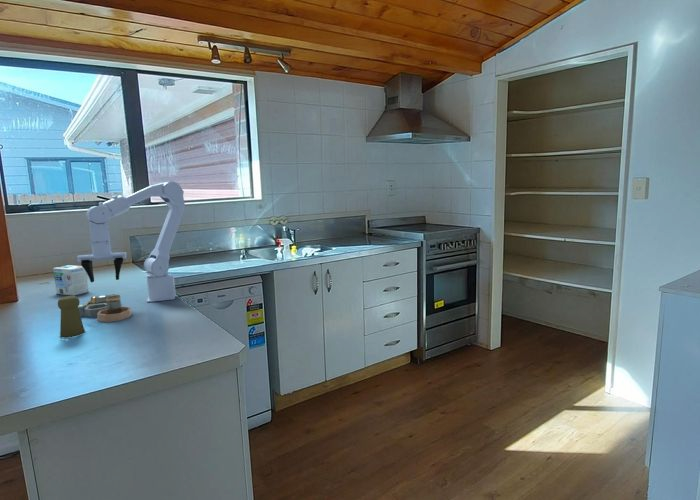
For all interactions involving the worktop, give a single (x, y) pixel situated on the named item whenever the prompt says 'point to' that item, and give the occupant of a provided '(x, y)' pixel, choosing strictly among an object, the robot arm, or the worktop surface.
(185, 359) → the worktop surface
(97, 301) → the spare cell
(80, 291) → the light bulb box
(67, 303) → the cork
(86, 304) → the trough
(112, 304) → the cell
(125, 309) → the cup
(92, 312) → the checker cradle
